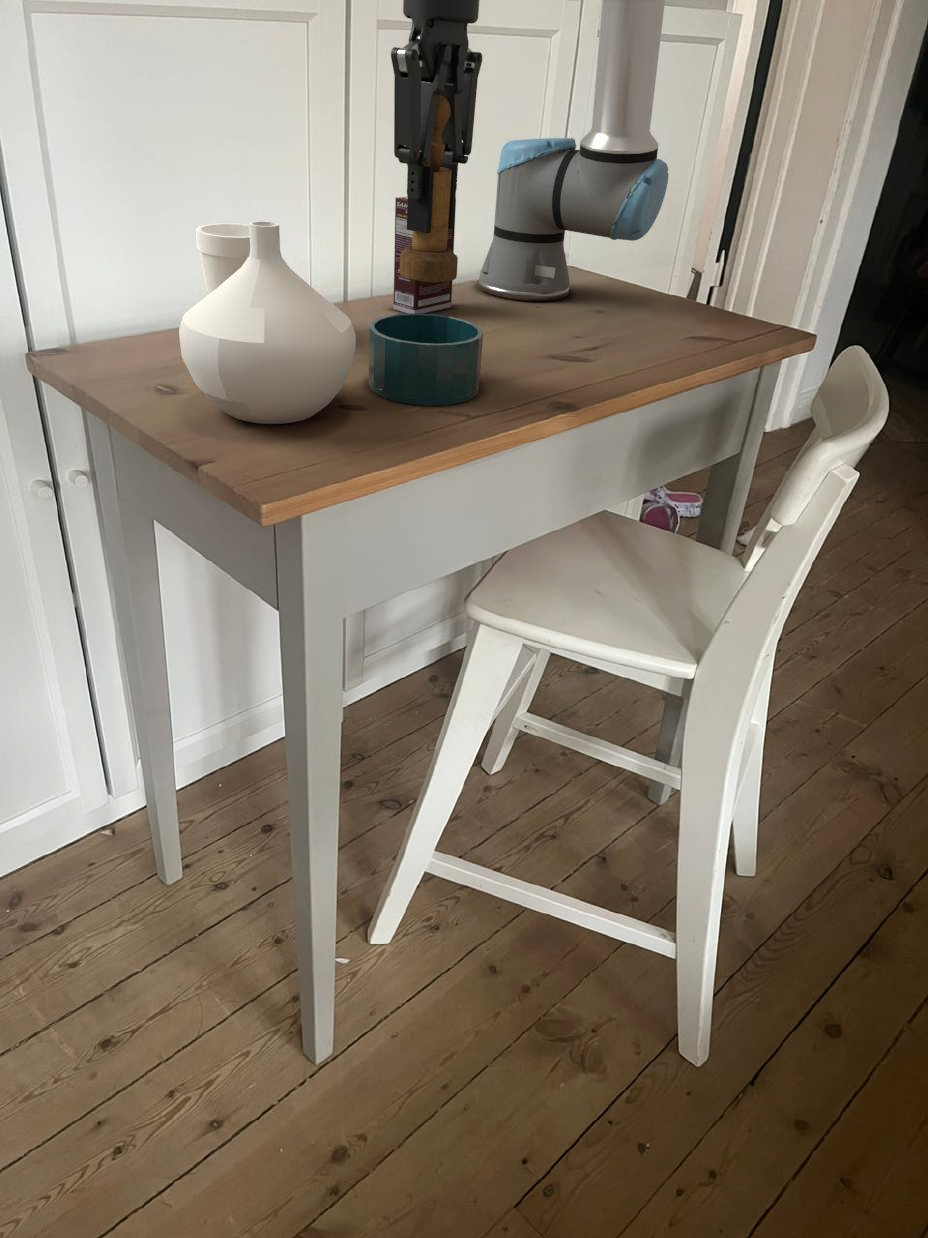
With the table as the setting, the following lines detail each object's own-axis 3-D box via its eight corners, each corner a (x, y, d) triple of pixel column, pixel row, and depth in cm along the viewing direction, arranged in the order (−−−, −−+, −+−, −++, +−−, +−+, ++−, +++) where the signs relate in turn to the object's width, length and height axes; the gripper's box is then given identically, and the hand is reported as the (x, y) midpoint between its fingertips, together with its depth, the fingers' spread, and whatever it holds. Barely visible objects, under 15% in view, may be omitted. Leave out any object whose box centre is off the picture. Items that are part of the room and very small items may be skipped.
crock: (410, 362, 122) (412, 307, 118) (498, 386, 116) (503, 328, 112) (346, 387, 112) (346, 327, 108) (438, 414, 106) (442, 352, 103)
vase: (158, 395, 105) (139, 211, 95) (304, 373, 115) (300, 204, 105) (231, 452, 93) (218, 248, 83) (386, 421, 103) (392, 236, 93)
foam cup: (190, 336, 125) (182, 231, 118) (222, 319, 133) (215, 220, 126) (257, 345, 123) (252, 240, 116) (285, 328, 131) (282, 228, 124)
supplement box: (429, 301, 149) (434, 192, 141) (452, 308, 147) (458, 197, 138) (390, 309, 143) (393, 196, 135) (413, 316, 141) (418, 201, 132)
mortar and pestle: (449, 285, 104) (460, 99, 95) (392, 278, 105) (397, 93, 96) (461, 272, 110) (473, 96, 100) (407, 266, 111) (413, 91, 101)
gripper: (457, -22, 100) (444, 215, 113) (358, -37, 88) (356, 231, 100) (518, -18, 97) (498, 225, 109) (425, -33, 85) (414, 243, 97)
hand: (430, 228), depth 105 cm, fingers closed on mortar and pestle, 4 cm apart
